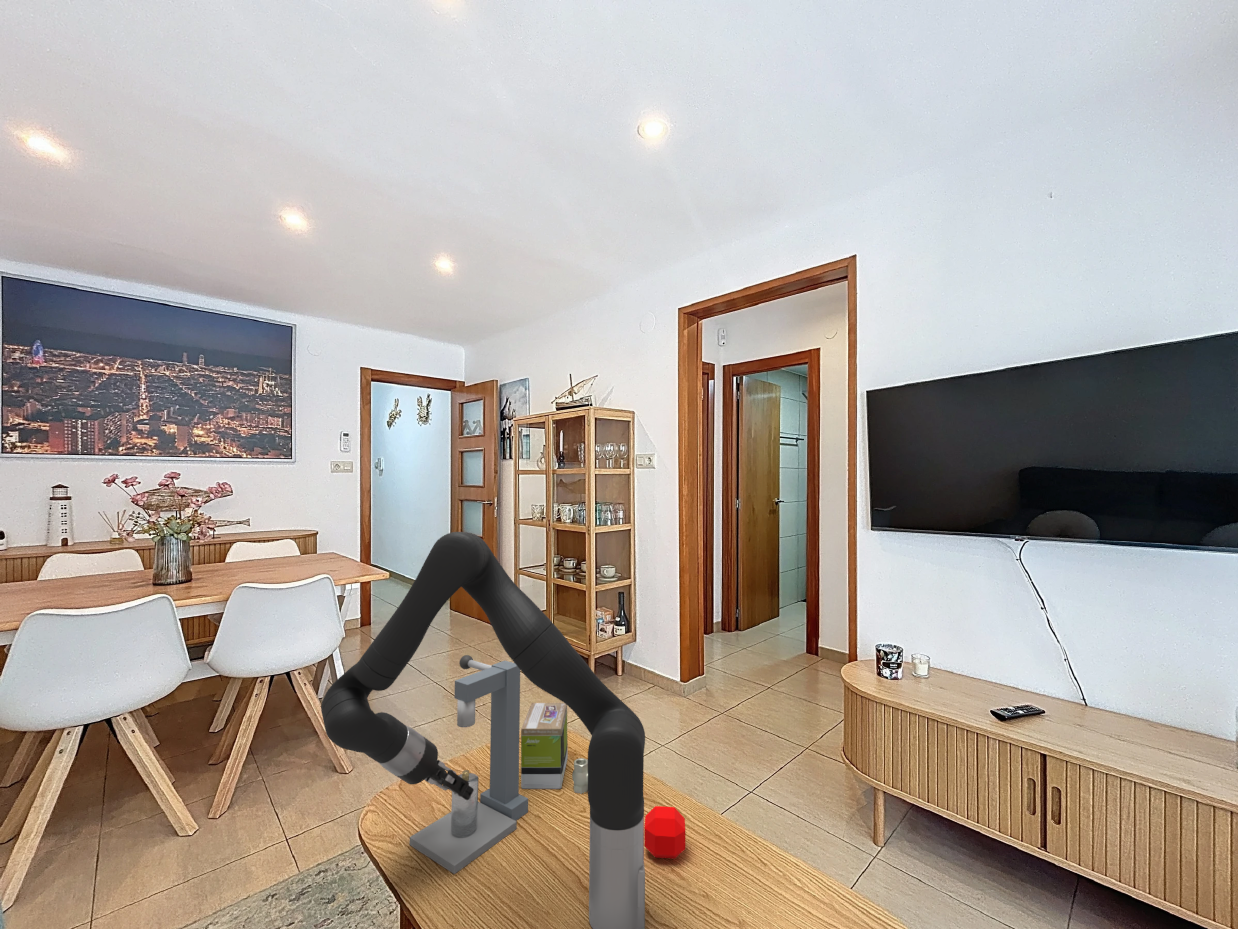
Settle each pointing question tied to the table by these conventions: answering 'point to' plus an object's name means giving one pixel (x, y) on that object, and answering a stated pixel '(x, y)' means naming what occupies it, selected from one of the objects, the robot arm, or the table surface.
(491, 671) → the press
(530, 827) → the table surface
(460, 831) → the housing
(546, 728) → the tea box
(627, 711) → the robot arm
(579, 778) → the valve
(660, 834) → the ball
